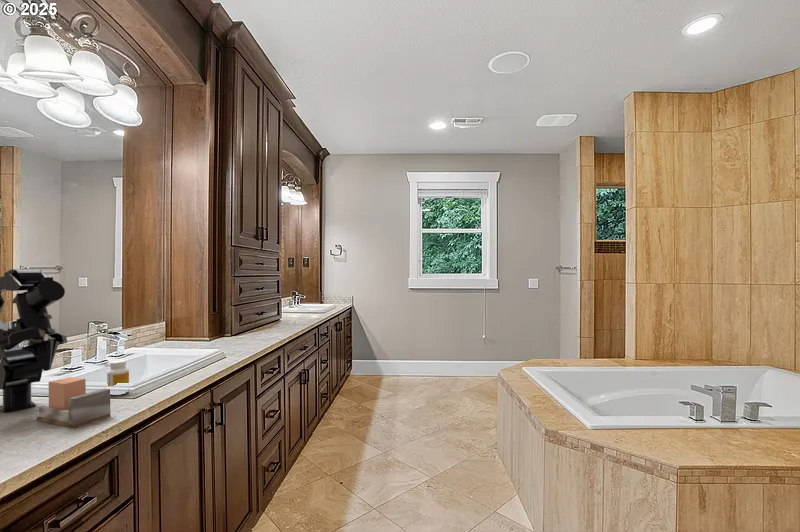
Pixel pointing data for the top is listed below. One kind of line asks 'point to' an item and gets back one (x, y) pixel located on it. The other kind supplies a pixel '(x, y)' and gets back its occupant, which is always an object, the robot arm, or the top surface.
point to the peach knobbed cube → (65, 391)
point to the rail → (79, 410)
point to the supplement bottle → (117, 373)
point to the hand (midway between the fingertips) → (47, 370)
